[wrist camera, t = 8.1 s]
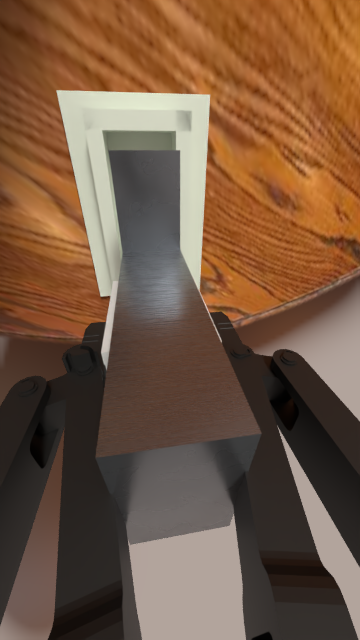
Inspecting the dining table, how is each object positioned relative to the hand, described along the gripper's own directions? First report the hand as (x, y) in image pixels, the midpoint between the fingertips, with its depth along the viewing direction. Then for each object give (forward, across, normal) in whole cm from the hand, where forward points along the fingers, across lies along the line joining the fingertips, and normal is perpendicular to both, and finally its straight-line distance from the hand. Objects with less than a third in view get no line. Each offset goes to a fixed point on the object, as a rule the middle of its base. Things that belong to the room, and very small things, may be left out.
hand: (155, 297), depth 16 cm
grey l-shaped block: (+3, 0, +3) cm, 4 cm away
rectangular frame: (+13, 0, +3) cm, 14 cm away
